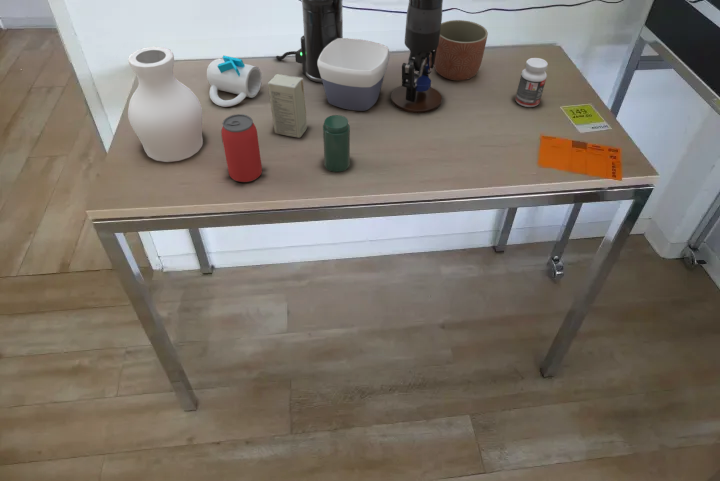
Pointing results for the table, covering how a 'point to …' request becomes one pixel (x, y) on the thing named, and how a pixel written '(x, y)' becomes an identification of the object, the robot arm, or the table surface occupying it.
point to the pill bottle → (532, 82)
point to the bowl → (353, 72)
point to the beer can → (241, 148)
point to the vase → (163, 108)
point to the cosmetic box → (288, 105)
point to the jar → (336, 143)
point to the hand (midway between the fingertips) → (416, 94)
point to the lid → (423, 83)
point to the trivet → (422, 104)
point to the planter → (460, 49)
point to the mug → (233, 80)
